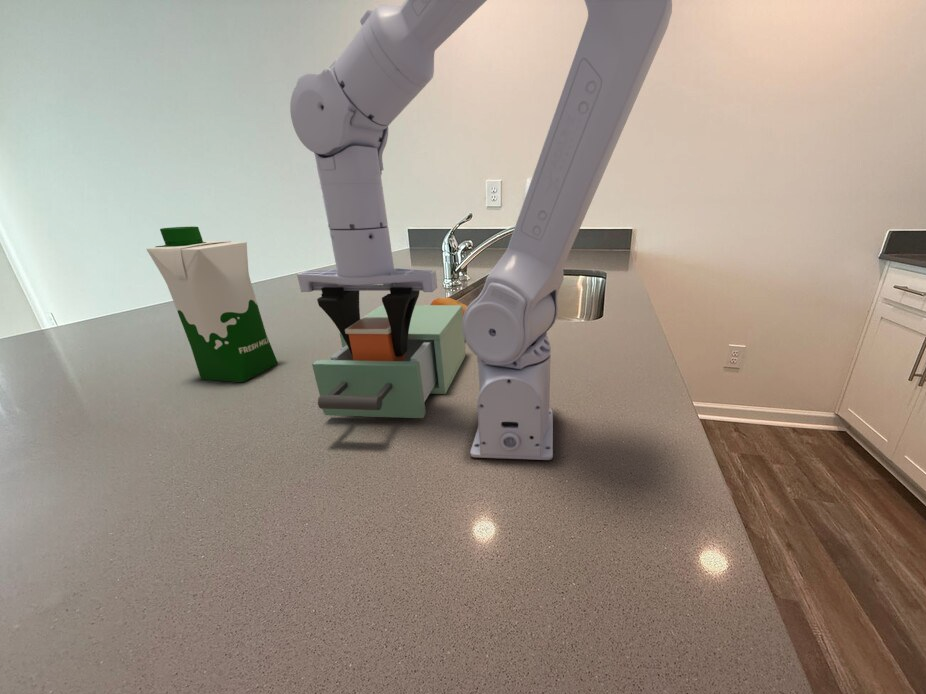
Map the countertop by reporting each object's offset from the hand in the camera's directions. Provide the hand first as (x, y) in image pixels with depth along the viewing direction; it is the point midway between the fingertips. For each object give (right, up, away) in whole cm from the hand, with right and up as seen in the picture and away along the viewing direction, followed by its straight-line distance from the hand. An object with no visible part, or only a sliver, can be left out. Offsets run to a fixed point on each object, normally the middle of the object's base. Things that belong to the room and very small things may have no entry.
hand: (380, 353), depth 47 cm
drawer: (0, -6, +2) cm, 6 cm away
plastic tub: (0, -1, +1) cm, 1 cm away
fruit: (+4, +5, +26) cm, 27 cm away
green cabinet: (+1, -2, +12) cm, 12 cm away
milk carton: (-25, -2, +13) cm, 28 cm away
